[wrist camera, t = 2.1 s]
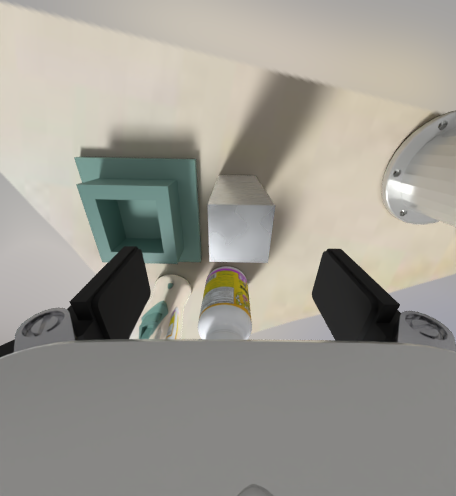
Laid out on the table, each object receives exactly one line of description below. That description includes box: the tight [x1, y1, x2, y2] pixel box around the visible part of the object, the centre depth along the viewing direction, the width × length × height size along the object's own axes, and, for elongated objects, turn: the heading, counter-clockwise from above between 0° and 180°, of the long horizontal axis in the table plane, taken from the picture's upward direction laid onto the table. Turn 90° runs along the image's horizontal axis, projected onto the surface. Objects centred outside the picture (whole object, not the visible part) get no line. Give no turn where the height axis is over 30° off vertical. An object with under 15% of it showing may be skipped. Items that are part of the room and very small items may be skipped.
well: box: [74, 157, 201, 264], centre depth 25 cm, size 14×14×5 cm
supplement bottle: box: [198, 266, 252, 340], centre depth 27 cm, size 7×7×13 cm
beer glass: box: [129, 274, 191, 339], centre depth 27 cm, size 7×7×15 cm
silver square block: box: [208, 175, 275, 263], centre depth 20 cm, size 4×4×13 cm
